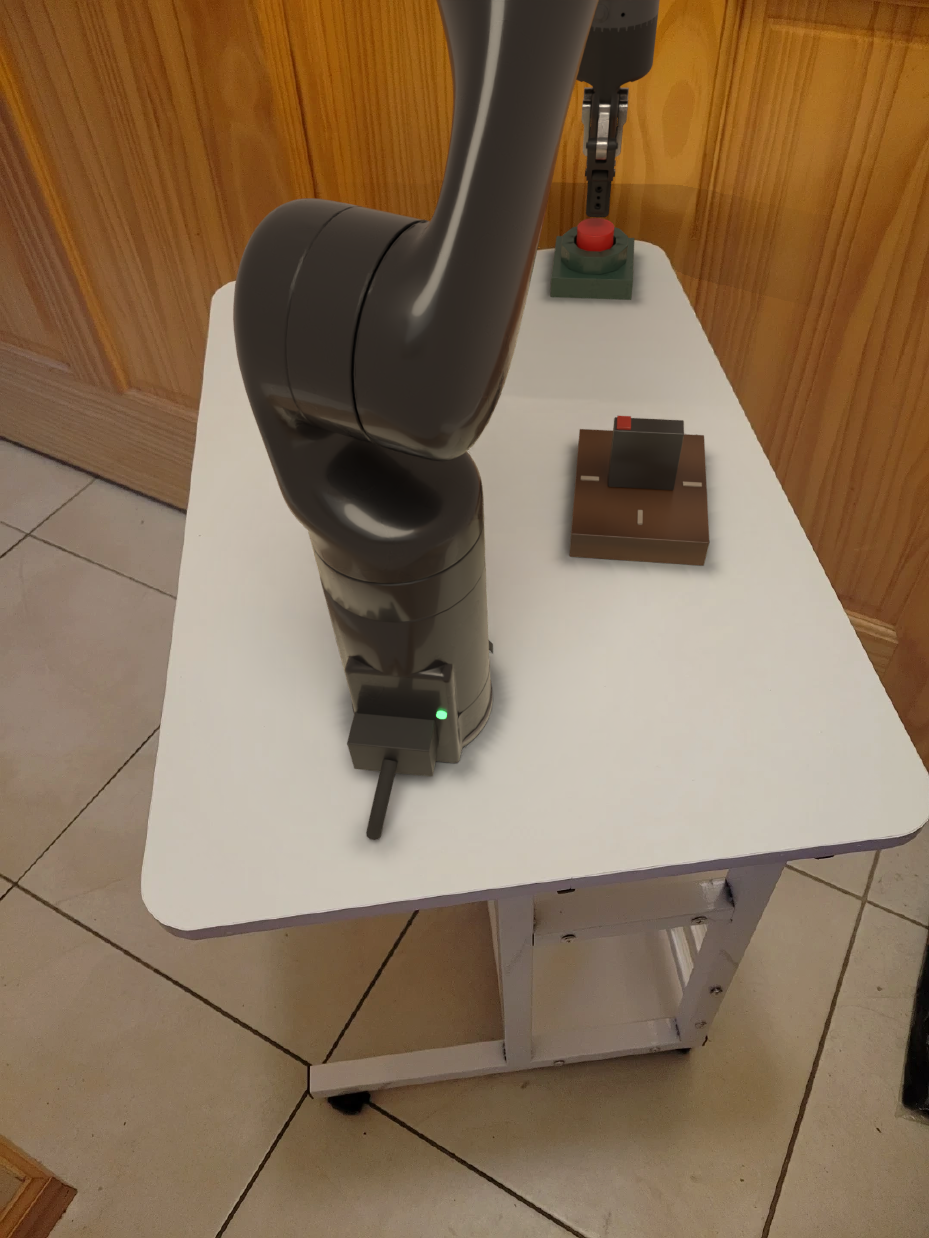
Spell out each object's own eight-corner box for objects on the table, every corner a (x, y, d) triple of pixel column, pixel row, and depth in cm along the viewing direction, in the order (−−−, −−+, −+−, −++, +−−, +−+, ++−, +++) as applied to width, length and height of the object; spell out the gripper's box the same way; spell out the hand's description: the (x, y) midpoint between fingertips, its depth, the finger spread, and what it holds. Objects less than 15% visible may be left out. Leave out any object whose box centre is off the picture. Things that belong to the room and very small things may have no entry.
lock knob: (673, 476, 69) (684, 417, 65) (673, 490, 68) (684, 431, 64) (608, 473, 70) (614, 414, 65) (607, 487, 69) (614, 428, 64)
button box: (630, 300, 89) (635, 263, 86) (550, 297, 90) (551, 260, 87) (632, 257, 94) (636, 220, 91) (555, 255, 95) (557, 219, 92)
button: (612, 254, 88) (613, 237, 86) (575, 253, 88) (576, 236, 87) (613, 235, 90) (614, 218, 89) (577, 234, 90) (578, 217, 89)
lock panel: (703, 565, 67) (709, 541, 65) (569, 557, 68) (571, 532, 66) (699, 458, 74) (704, 433, 72) (577, 452, 75) (579, 427, 73)
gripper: (659, 37, 69) (635, 250, 82) (658, -22, 77) (637, 181, 90) (560, 37, 69) (553, 248, 83) (570, -21, 78) (562, 180, 91)
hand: (597, 213), depth 87 cm, fingers closed
